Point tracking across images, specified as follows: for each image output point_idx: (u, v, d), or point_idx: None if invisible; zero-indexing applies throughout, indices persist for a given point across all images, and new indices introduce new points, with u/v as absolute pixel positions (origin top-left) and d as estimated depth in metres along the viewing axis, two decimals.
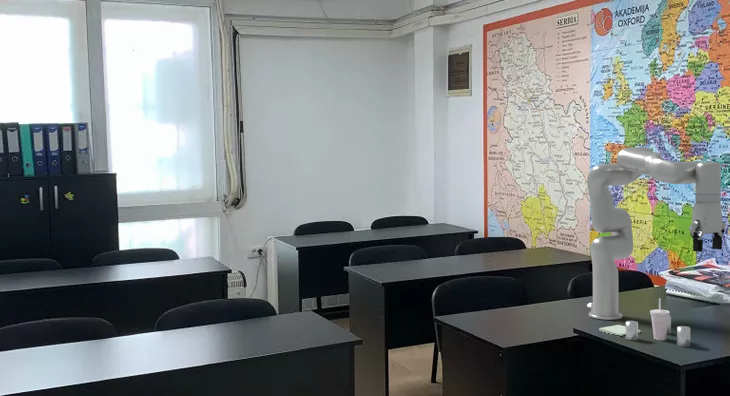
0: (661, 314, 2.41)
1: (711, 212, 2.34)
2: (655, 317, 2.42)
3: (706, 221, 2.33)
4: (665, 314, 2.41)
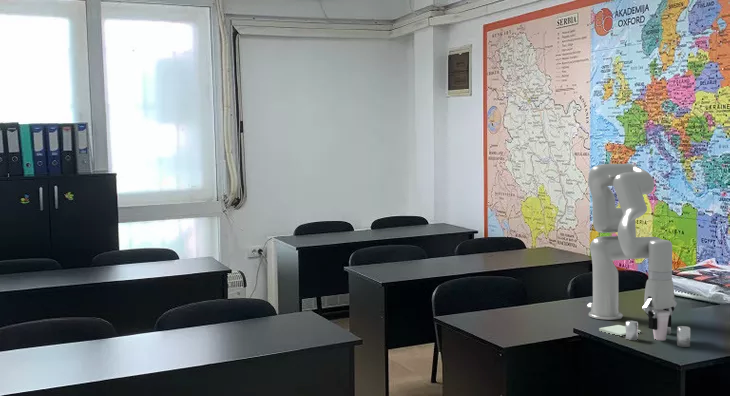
0: (661, 314, 2.41)
1: (663, 289, 2.40)
2: None
3: (657, 298, 2.40)
4: (665, 314, 2.41)
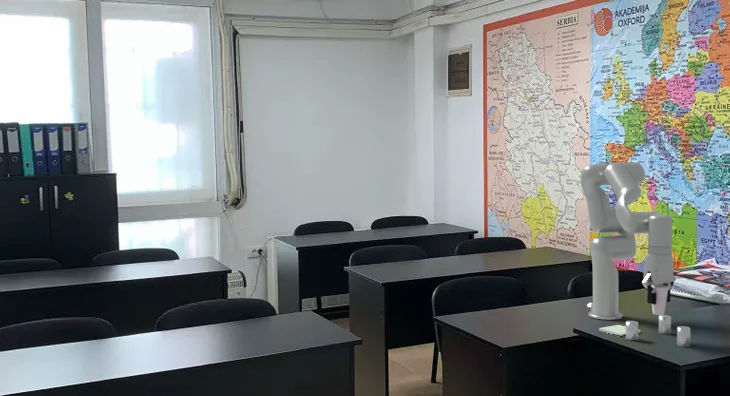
0: (660, 289, 2.41)
1: (662, 264, 2.40)
2: None
3: (657, 273, 2.40)
4: (664, 289, 2.41)
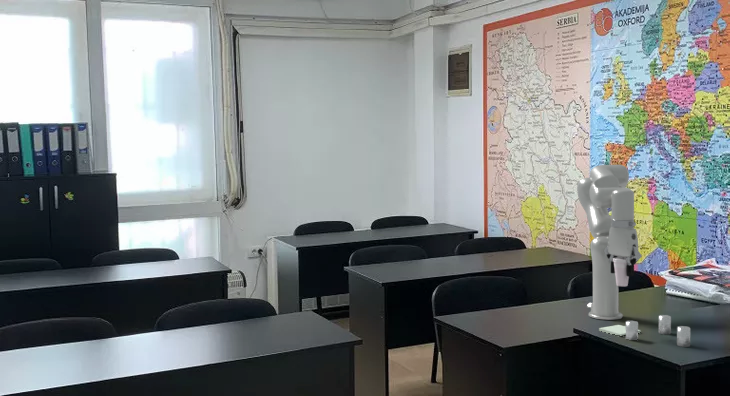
0: (613, 259, 2.53)
1: (614, 236, 2.52)
2: None
3: (609, 243, 2.55)
4: (614, 260, 2.52)
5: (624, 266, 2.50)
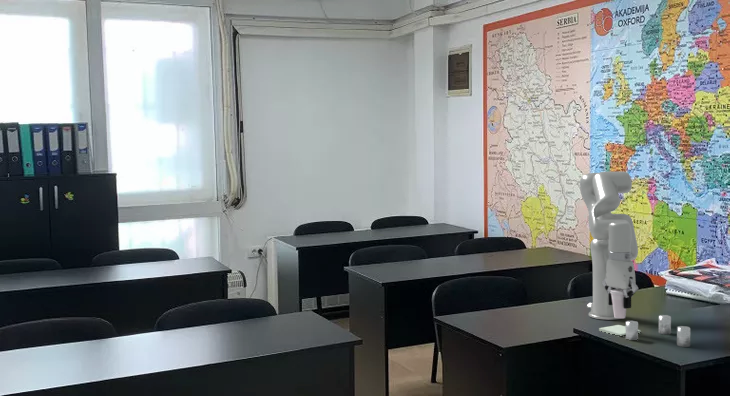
0: (610, 291, 2.55)
1: (611, 268, 2.53)
2: None
3: (607, 275, 2.56)
4: (611, 292, 2.53)
5: (621, 298, 2.51)
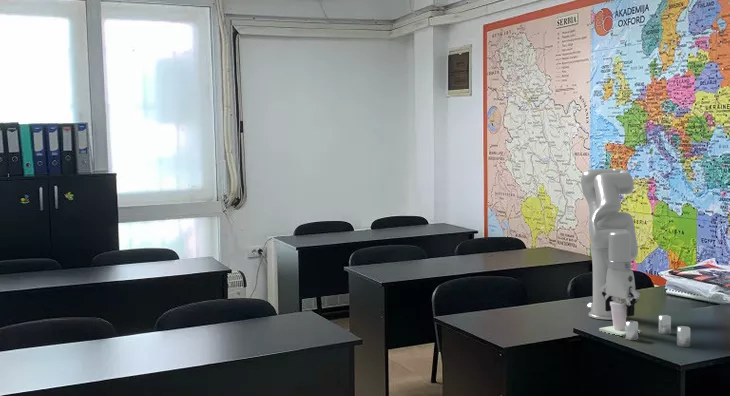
0: (610, 303, 2.55)
1: (611, 278, 2.54)
2: None
3: (607, 284, 2.56)
4: (611, 304, 2.54)
5: (621, 310, 2.52)
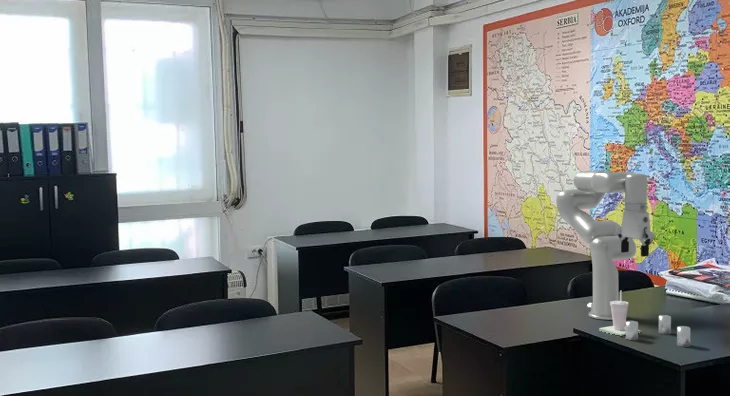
0: (610, 303, 2.55)
1: (627, 219, 2.59)
2: None
3: (623, 226, 2.61)
4: (611, 304, 2.54)
5: (621, 310, 2.52)
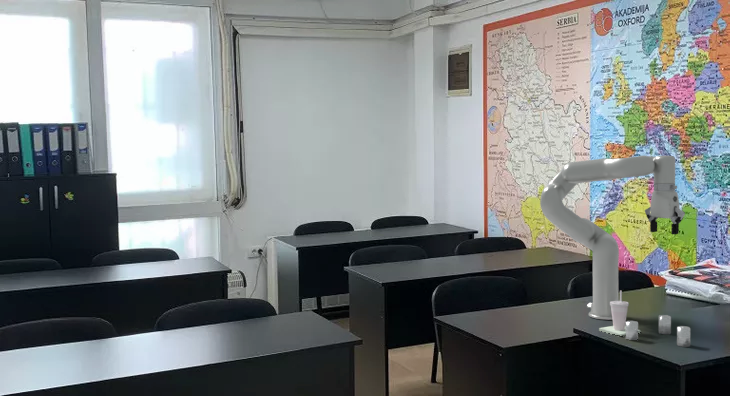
0: (610, 303, 2.55)
1: (656, 199, 2.70)
2: None
3: (652, 206, 2.72)
4: (611, 304, 2.54)
5: (621, 310, 2.52)
